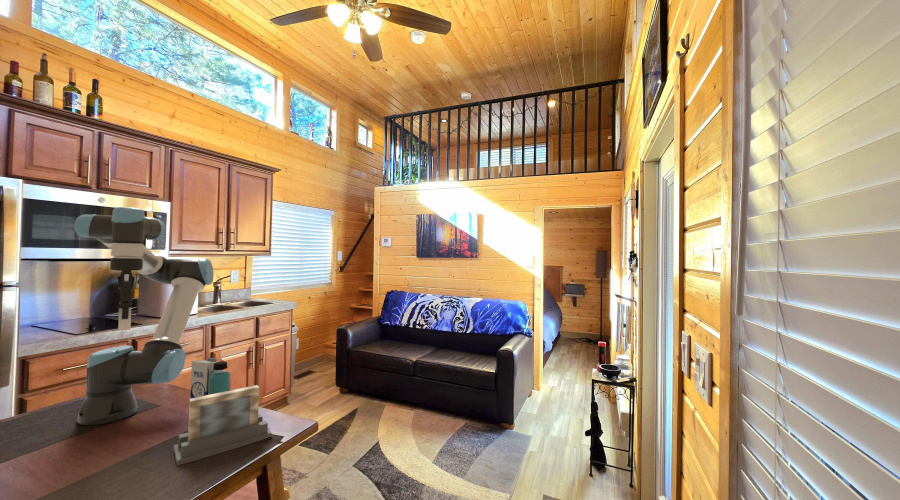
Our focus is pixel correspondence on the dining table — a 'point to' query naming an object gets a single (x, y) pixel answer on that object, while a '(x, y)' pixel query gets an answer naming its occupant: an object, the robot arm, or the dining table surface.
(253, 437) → the display stand
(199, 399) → the picture frame
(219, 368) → the beverage bottle
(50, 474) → the dining table surface
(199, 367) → the milk carton
